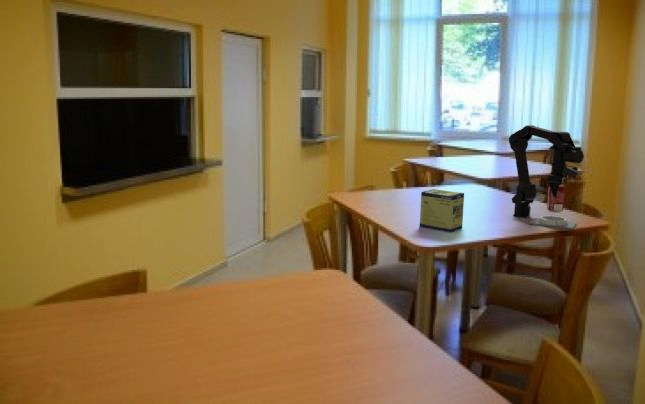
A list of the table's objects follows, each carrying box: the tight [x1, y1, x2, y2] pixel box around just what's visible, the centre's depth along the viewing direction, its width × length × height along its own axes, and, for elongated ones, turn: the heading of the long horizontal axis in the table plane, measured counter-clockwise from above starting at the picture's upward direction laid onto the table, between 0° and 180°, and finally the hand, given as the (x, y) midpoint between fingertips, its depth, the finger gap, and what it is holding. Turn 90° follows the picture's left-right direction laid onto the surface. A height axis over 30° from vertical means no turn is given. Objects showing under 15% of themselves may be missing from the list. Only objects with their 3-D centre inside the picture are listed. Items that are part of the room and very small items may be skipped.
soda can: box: [546, 184, 566, 214], centre depth 260 cm, size 7×7×12 cm
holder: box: [528, 215, 577, 231], centre depth 261 cm, size 18×12×3 cm, turn 59°
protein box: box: [419, 189, 465, 233], centre depth 251 cm, size 10×16×16 cm
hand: (556, 195), depth 259 cm, fingers closed on soda can, 7 cm apart
